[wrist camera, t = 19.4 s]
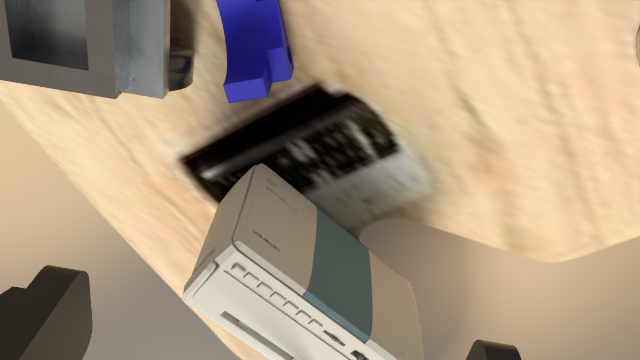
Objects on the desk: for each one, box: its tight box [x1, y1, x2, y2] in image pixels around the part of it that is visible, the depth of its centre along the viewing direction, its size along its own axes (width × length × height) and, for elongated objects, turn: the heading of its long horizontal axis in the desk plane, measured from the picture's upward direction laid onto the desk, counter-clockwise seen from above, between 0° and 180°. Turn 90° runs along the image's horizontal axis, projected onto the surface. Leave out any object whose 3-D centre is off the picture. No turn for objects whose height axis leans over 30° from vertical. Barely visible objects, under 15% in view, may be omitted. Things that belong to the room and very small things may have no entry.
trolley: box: [0, 0, 194, 99], centre depth 38 cm, size 13×10×10 cm
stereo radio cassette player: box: [183, 163, 424, 360], centre depth 45 cm, size 21×8×20 cm, turn 47°
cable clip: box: [216, 0, 294, 103], centre depth 40 cm, size 12×4×6 cm, turn 11°
